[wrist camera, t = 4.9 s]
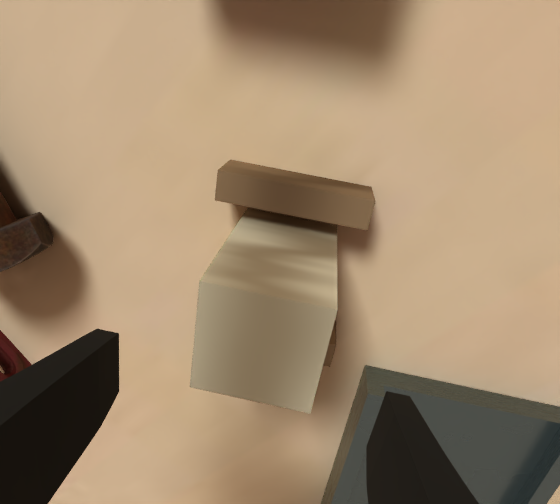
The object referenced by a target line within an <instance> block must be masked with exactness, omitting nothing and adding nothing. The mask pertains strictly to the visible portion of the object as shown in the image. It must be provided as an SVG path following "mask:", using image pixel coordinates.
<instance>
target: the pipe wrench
mask: <svg viewBox="0 0 560 504" xmlns="http://www.w3.org/2000/svg"><path fill="white" fill-rule="evenodd" d="M0 365H1V367H2V368H3V370H4V371H5V372H4V374H3V373H2V372H1V371H0V381H2V380H4V379H6V378H8V377H10V376H12V375H14V374H16V373H18V372H20V371H22V370H24V369H25V368H27V367H29V366H31V365H32V364H31V363H30V362H29V361H28V360H27V359H26V358H25V357H24V356H23V354H22V353H21V352H20V351H19V350H18V349H17V348H16V347H15V346H14V344H13V343H12V342H11V341H10V340H9V339H8V338H7V337H6V336H5V335H4V334H3V333H2V332H1V330H0Z"/></svg>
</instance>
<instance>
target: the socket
mask: <svg viewBox="0 0 560 504" xmlns="http://www.w3.org/2000/svg"><path fill="white" fill-rule="evenodd" d="M215 200H216V201H221V202H226V203H231V204H236V205H241V206H246V207H251V208H256V209H261V210H266V211H271V212H276V213H281V214H286V215H291V216H297V217H302V218H307V219H312V220H317V221H322V222H327V223H332V224H337V225H342V226H347V227H352V228H357V229H362V230H368V226H369V223H370V219H371V215H372V212H373V208H374V204H375V198H374V194H373V191H372V188H371V187H368V186H363V185H358V184H353V183H348V182H343V181H337V180H332V179H327V178H322V177H317V176H312V175H306V174H301V173H296V172H291V171H286V170H281V169H275V168H270V167H265V166H260V165H255V164H250V163H244V162H239V161H234V160H230V161H228V162H227V163H226V164H225V165H224V166H222V167H221V168H220V169H219V170H218V174H217V184H216V194H215ZM335 347H336V320H335V322H334V326H333V329H332V333H331V337H330V341H329V345H328V348H327V352H326V356H325V360H324V364H323V365H324V366H329V367H330V365H331V361H332V358H333V354H334V350H335Z"/></svg>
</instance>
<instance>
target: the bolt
mask: <svg viewBox="0 0 560 504" xmlns="http://www.w3.org/2000/svg"><path fill="white" fill-rule="evenodd" d="M52 244H53V234H52V232H51V230H50V229H49V227H48V225H47V223H46V221H45V219H44V218H43V216H42V214H41V213H40V212H38V213H35V214H32V215H29V216H26V217H23V218H20V219H17V220H16V218H15V216H14V214H13V213H12V211H11V209H10V207H9V206H8V204H7V202H6V200H5V199H4V197H3V195H2V193H1V192H0V272H1V271H3V270H6V269H9V268H11V267H13V266H15V265H17V264H19V263H21V262H23V261H25V260H27V259H29V258H31V257H32V256H34V255H36V254H38V253H40V252H41V251H43V250H45V249H46V248H48V247H49V246H52Z"/></svg>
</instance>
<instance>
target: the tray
mask: <svg viewBox="0 0 560 504" xmlns="http://www.w3.org/2000/svg"><path fill="white" fill-rule="evenodd" d="M386 391H388V392H393V393H398V394H402V395H407V396H410V397H411V399H412V400H413V402H414V404H415V405H416V407H417V408H418V410H419V412H420V413H421V415H422V417H423V418H424V420H425V422H426V423H427V425H428V427H429V428H430V430H431V432H432V433H433V435H434V436H435V438H436V440H437V441H438V443H439V445H440V446H441V448H442V449H443V451H444V452H445V454H446V456H447V457H448V459H449V460H450V462H451V463H452V465H453V466H454V468H455V469H456V471H457V472H458V474H459V475H460V477H461V478H462V480H463V481H464V483H465V484H466V486H467V487H468V489H469V490H470V492H471V493H472V494H473V496H474V497H475V499H476V500H477V501H478V503H479V504H547V502H548V501H549V499H550V498H551V497H552V495H553V494H554V492H555V491H556V489H557V488H558V486H559V485H560V407H557V406H553V405H548V404H543V403H539V402H534V401H529V400H525V399H520V398H516V397H511V396H506V395H502V394H497V393H492V392H488V391H483V390H478V389H474V388H469V387H464V386H460V385H455V384H450V383H446V382H441V381H436V380H432V379H427V378H422V377H418V376H413V375H408V374H404V373H399V372H394V371H390V370H385V369H380V368H376V367H371V366H366V365H365V367H364V371H363V374H362V377H361V380H360V383H359V386H358V389H357V392H356V396H355V399H354V402H353V405H352V408H351V411H350V414H349V417H348V421H347V424H346V427H345V430H344V433H343V436H342V439H341V442H340V446H339V449H338V452H337V455H336V458H335V461H334V464H333V467H332V471H331V474H330V477H329V480H328V483H327V486H326V489H325V492H324V496H323V499H322V502H321V504H368V496H367V484H366V446H367V443H368V441H369V438H370V435H371V432H372V429H373V427H374V424H375V421H376V418H377V416H378V413H379V410H380V407H381V404H382V402H383V399H384V396H385V393H386Z"/></svg>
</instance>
